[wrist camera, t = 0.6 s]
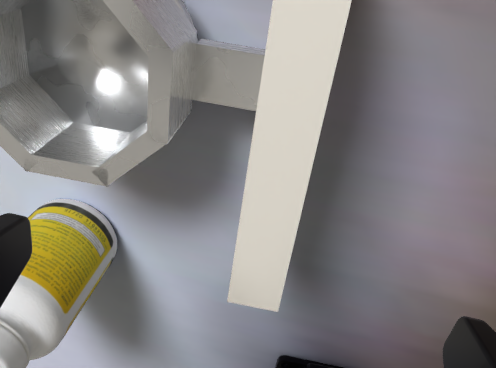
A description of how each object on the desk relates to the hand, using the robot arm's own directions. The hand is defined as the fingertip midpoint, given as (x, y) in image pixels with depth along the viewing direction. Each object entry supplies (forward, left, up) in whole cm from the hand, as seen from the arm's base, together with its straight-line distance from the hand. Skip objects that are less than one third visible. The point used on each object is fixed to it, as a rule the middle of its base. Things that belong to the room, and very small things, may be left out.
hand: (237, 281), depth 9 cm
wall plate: (+1, 0, -14) cm, 14 cm away
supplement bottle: (-11, +11, -14) cm, 21 cm away
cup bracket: (+1, +6, -12) cm, 14 cm away
